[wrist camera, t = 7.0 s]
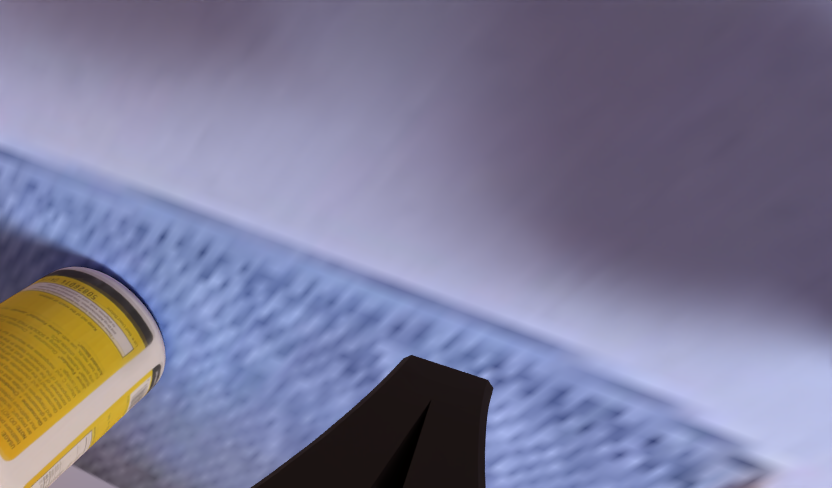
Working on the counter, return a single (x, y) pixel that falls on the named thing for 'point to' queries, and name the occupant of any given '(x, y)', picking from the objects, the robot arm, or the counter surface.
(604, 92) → the counter surface
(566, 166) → the counter surface
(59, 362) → the pill bottle
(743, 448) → the counter surface
